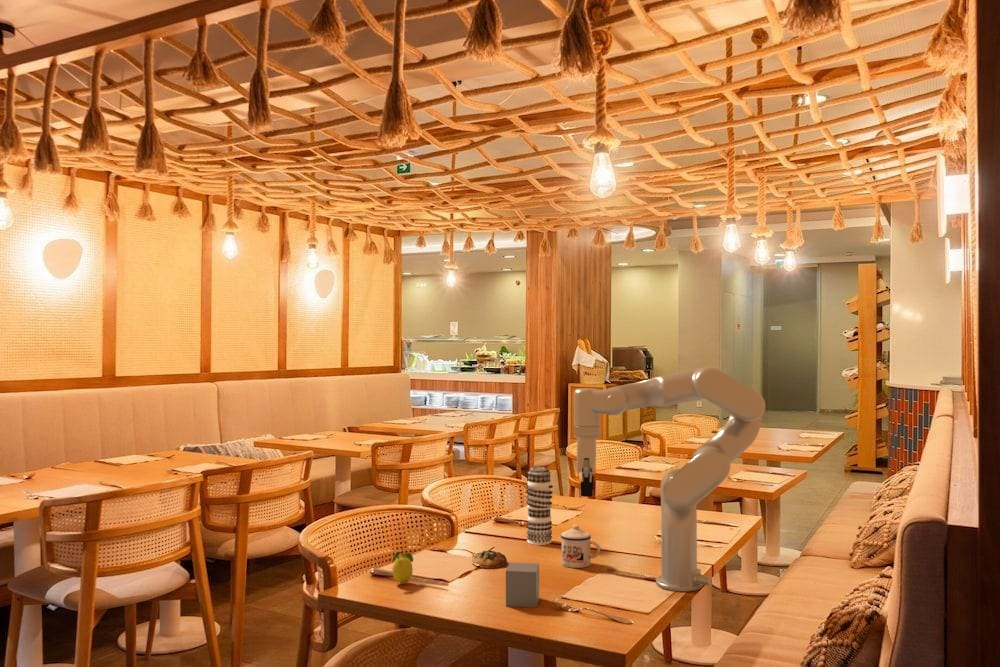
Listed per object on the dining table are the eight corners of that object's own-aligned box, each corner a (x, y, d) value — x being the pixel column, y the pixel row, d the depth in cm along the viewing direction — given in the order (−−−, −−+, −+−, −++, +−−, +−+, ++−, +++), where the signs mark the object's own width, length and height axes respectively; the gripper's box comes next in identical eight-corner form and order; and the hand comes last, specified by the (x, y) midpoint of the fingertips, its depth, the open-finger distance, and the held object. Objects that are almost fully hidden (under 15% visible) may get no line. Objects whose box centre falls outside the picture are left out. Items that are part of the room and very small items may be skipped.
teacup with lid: (556, 566, 224) (556, 527, 224) (566, 559, 232) (566, 521, 232) (595, 571, 219) (595, 531, 219) (603, 563, 227) (603, 524, 228)
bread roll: (514, 562, 229) (512, 546, 228) (494, 576, 219) (493, 559, 219) (483, 558, 235) (482, 542, 234) (463, 571, 225) (462, 555, 225)
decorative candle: (540, 537, 260) (539, 465, 261) (558, 542, 253) (558, 468, 254) (520, 541, 254) (520, 467, 255) (538, 546, 247) (538, 470, 248)
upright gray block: (539, 597, 195) (539, 563, 195) (536, 607, 187) (536, 572, 187) (509, 596, 196) (509, 562, 196) (505, 606, 188) (505, 570, 188)
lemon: (391, 588, 203) (391, 551, 203) (388, 582, 208) (389, 545, 209) (416, 586, 204) (416, 549, 205) (412, 580, 210) (412, 544, 210)
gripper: (575, 429, 220) (575, 487, 220) (572, 435, 203) (572, 498, 203) (601, 429, 219) (601, 488, 219) (599, 435, 202) (600, 499, 202)
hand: (587, 493), depth 211 cm, fingers open, 9 cm apart
